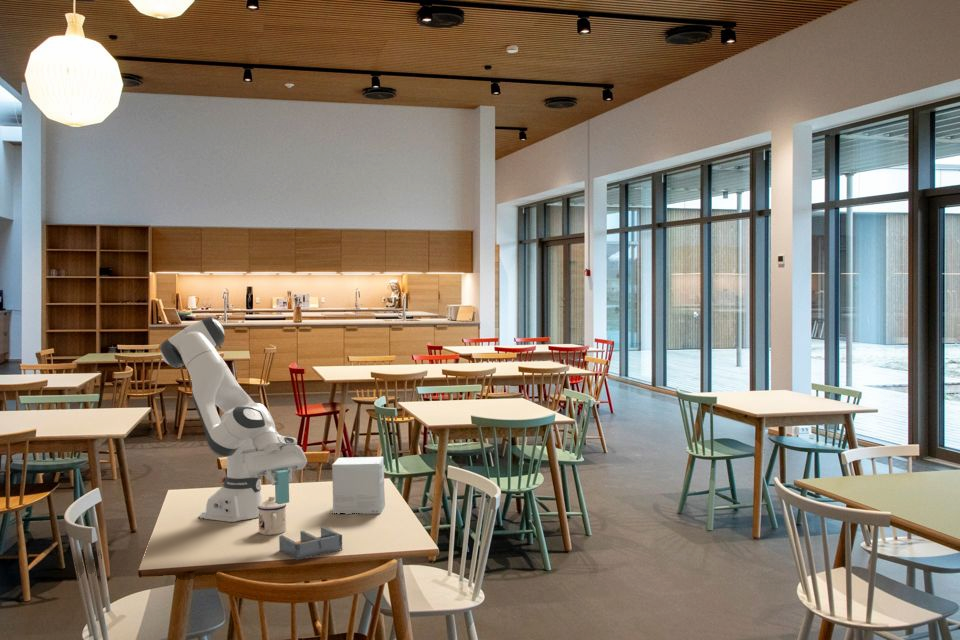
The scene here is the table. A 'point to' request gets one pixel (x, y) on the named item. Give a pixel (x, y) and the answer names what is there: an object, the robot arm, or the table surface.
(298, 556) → the rack
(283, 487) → the teal rectangular block
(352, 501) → the supplement box
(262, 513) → the teacup with lid
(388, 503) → the table surface
